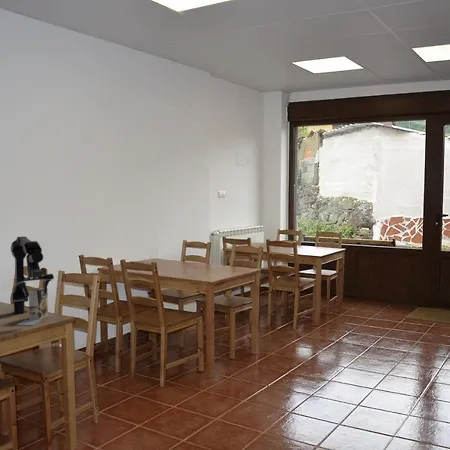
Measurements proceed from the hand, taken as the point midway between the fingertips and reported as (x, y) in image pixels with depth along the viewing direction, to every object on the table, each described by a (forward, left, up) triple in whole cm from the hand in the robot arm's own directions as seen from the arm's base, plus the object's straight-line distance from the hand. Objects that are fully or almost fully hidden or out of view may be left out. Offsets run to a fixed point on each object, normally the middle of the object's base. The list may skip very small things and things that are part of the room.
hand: (35, 295), depth 279 cm
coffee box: (-14, -5, -16) cm, 22 cm away
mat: (-3, -5, -15) cm, 17 cm away
